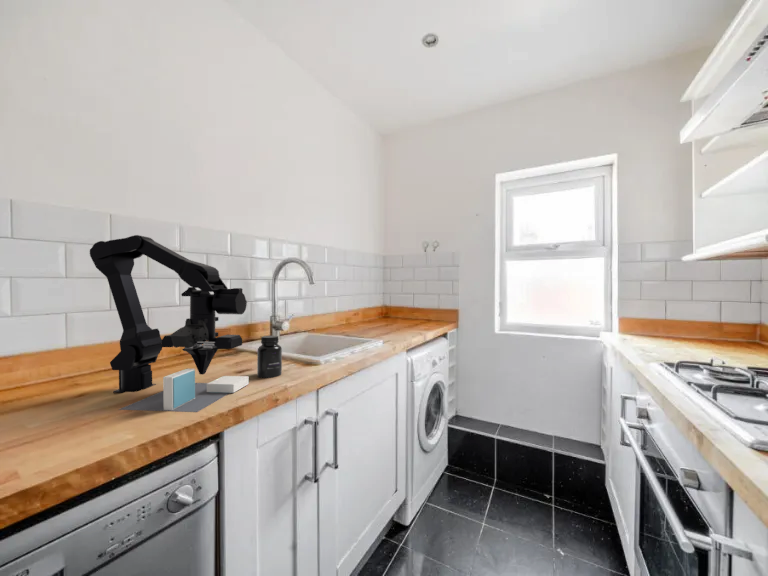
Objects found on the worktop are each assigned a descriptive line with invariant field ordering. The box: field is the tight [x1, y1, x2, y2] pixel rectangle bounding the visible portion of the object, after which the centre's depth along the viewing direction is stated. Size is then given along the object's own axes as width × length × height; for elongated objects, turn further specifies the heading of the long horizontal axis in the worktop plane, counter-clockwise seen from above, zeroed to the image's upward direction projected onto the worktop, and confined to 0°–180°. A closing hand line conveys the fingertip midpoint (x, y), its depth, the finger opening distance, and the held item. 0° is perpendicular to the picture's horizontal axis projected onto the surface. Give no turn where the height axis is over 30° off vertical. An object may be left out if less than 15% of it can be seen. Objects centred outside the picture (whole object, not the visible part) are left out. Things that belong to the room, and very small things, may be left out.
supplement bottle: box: [256, 335, 283, 379], centre depth 93 cm, size 7×7×12 cm
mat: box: [118, 382, 231, 413], centre depth 76 cm, size 18×19×1 cm
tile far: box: [207, 375, 250, 394], centre depth 81 cm, size 2×7×7 cm
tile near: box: [162, 368, 196, 410], centre depth 70 cm, size 2×7×7 cm, turn 175°
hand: (202, 374), depth 82 cm, fingers closed
